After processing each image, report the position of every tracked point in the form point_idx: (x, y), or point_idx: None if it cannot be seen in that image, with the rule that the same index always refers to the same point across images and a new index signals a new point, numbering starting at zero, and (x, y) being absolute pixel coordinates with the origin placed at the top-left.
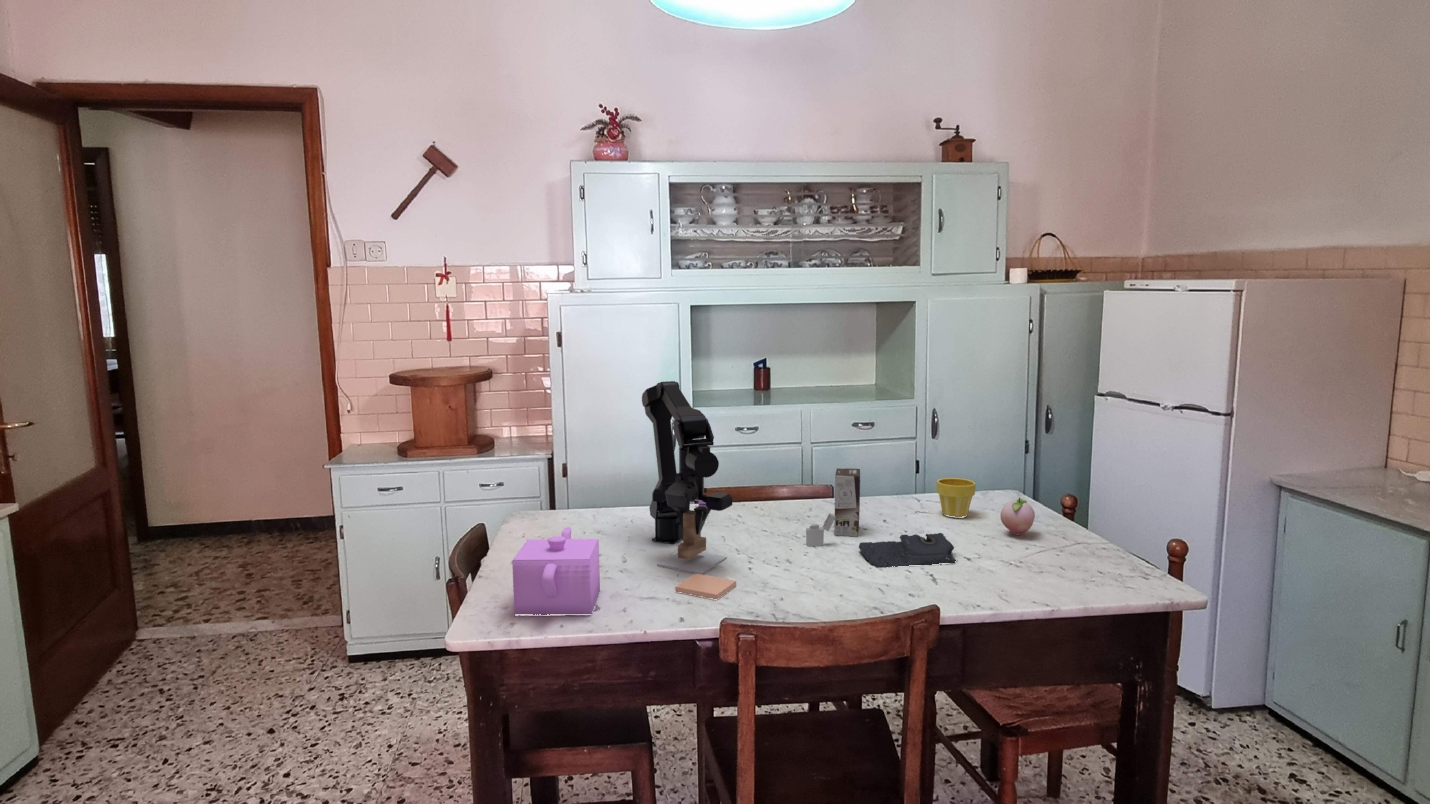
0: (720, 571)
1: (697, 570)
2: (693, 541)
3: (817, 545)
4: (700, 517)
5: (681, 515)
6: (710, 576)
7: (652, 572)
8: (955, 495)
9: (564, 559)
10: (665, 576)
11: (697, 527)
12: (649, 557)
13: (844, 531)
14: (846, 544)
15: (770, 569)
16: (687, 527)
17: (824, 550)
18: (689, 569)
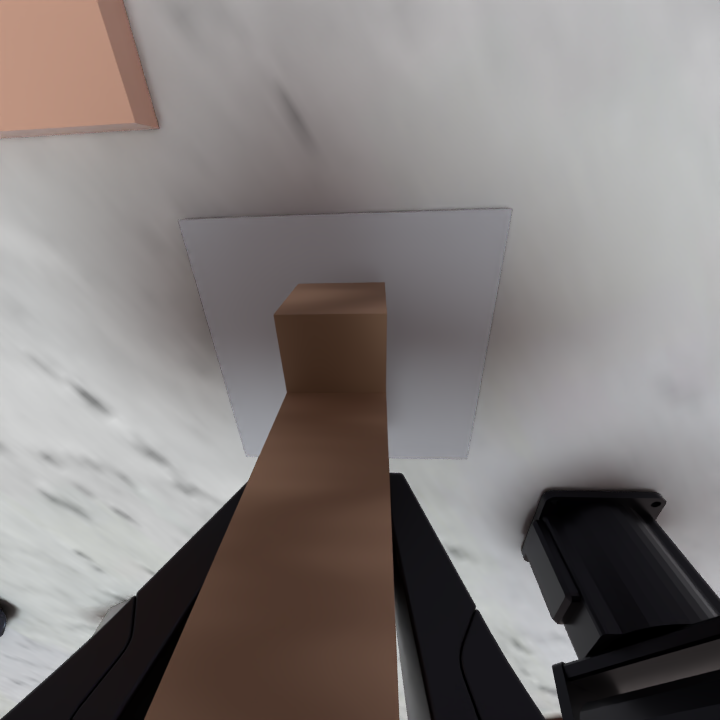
0: (152, 311)
1: (220, 234)
2: (290, 405)
3: (117, 606)
4: (38, 699)
5: (441, 696)
6: (15, 120)
7: (487, 61)
8: None
9: None
10: (354, 34)
11: (220, 526)
12: (607, 315)
13: None
14: (80, 625)
15: (29, 423)
16: (331, 502)
17: (78, 589)
18: (271, 225)
